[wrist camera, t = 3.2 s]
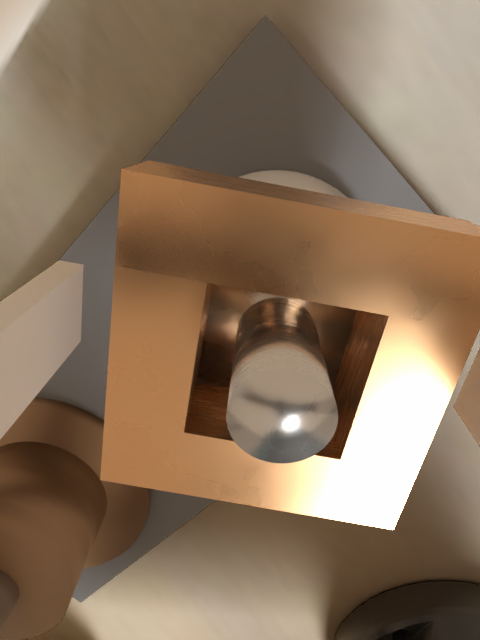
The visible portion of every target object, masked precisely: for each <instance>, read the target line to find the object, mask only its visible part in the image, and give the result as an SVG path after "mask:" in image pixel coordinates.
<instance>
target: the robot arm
mask: <svg viewBox="0 0 480 640" xmlns="http://www.w3.org/2000/svg"><path fill="white" fill-rule="evenodd" d="M82 294H83V264H78V263H72V262H67V261H61V260H59V261H58V262H56V263H55V264H53V265H52V266H50V267H49V268H48V269H46V270H45V271H43V272H42V273H40V274H39V275H38V276H36V277H35V278H33V279H32V280H30V281H29V282H28V283H26V284H25V285H23V286H22V287H20V288H19V289H18V290H16V291H15V292H13V293H12V294H10V295H9V296H8V297H6V298H5V299H3V300H2V301H0V439H1V438H2V437H3V436H4V435H5V433H6V432H7V431H8V430H9V428H10V427H11V426H12V425H13V424H14V422H15V421H16V420H17V419H18V417H19V416H20V415H21V414H22V413H23V411H24V410H25V409H26V408H27V406H28V405H29V404H30V403H31V401H32V400H33V399H34V398H35V397H36V395H37V394H38V393H39V392H40V390H41V389H42V388H43V387H44V386H45V384H46V383H47V382H48V381H49V379H50V378H51V377H52V376H53V375H54V373H55V372H56V371H57V370H58V368H59V367H60V366H61V365H62V363H63V362H64V361H65V360H66V359H67V357H68V356H69V355H70V354H71V352H72V351H73V350H74V349H75V348H76V346H77V345H78V344H79V343H80V341H81V324H82ZM454 408H455V410H456V411H457V413H458V414H459V416H460V417H461V419H462V420H463V422H464V423H465V425H466V426H467V428H468V429H469V431H470V432H471V434H472V435H473V437H474V439H475V440H476V442H477V443H478V445H479V446H480V349H479V351H478V353H477V356H476V358H475V360H474V362H473V365H472V367H471V369H470V371H469V373H468V376H467V378H466V380H465V382H464V385H463V387H462V389H461V391H460V394H459V396H458V398H457V400H456V402H455V405H454ZM334 640H480V585H477V584H472V583H465V582H455V581H436V582H424V583H418V584H412V585H407V586H403V587H400V588H396V589H393V590H390V591H388V592H385V593H383V594H380V595H378V596H376V597H374V598H372V599H370V600H369V601H367V602H365V603H364V604H362V605H361V606H359V607H358V608H357V609H356V610H354V611H353V612H352V613H351V614H350V615H349V616H348V617H347V618H346V619H345V620H344V622H343V623H342V624H341V626H340V628H339V629H338V631H337V633H336V636H335V639H334Z"/></svg>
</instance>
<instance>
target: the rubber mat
mask: <svg viewBox="0 0 480 640" xmlns="http://www.w3.org/2000/svg"><path fill="white" fill-rule="evenodd" d="M149 160H150V161H155V162H161V163H166V164H171V165H177V166H182V167H187V168H192V169H198V170H203V171H208V172H214V173H219V174H224V175H229V176H235V177H236V176H238V175H242V174H245V173H248V172H252V171H258V170H265V169H285V170H293V171H298V172H302V173H306V174H309V175H312V176H314V177H317V178H319V179H321V180H323V181H325V182H327V183H328V184H330V185H332V186H333V187H335V188H336V189H338V190H339V191H340V192H341V193H343V194H344V195H345V196H346V197H347V198H351V199H356V200H361V201H367V202H372V203H377V204H382V205H388V206H393V207H398V208H404V209H409V210H414V211H419V212H425V213H430V214H434V213H433V212H432V211H431V210H430V208H429V207H428V206H427V205H426V204H425V203H424V201H423V200H422V199H421V198H420V197H419V195H418V194H417V193H416V192H415V191H414V190H413V188H412V187H411V186H410V185H409V184H408V183H407V181H406V180H405V179H404V178H403V177H402V175H401V174H400V173H399V172H398V171H397V170H396V168H395V167H394V166H393V165H392V164H391V162H390V161H389V160H388V159H387V158H386V157H385V155H384V154H383V153H382V152H381V151H380V150H379V148H378V147H377V146H376V145H375V144H374V142H373V141H372V140H371V139H370V138H369V137H368V135H367V134H366V133H365V132H364V131H363V129H362V128H361V127H360V126H359V125H358V124H357V122H356V121H355V120H354V119H353V118H352V116H351V115H350V114H349V113H348V112H347V111H346V109H345V108H344V107H343V106H342V105H341V104H340V102H339V101H338V100H337V99H336V98H335V96H334V95H333V94H332V93H331V92H330V91H329V89H328V88H327V87H326V86H325V85H324V83H323V82H322V81H321V80H320V79H319V78H318V76H317V75H316V74H315V73H314V72H313V71H312V69H311V68H310V67H309V66H308V65H307V63H306V62H305V61H304V60H303V59H302V58H301V56H300V55H299V54H298V53H297V52H296V50H295V49H294V48H293V47H292V46H291V45H290V43H289V42H288V41H287V40H286V39H285V38H284V36H283V35H282V34H281V33H280V32H279V30H278V29H277V28H276V27H275V26H274V25H273V23H272V22H271V21H270V20H269V19H268V17H267V16H266V15H265V16H264V17H263V18H262V20H261V21H260V22H259V23H258V24H257V26H256V27H255V28H254V29H253V30H252V31H251V33H250V34H249V35H248V36H247V37H246V39H245V40H244V41H243V42H242V43H241V45H240V46H239V47H238V48H237V49H236V50H235V52H234V53H233V54H232V55H231V56H230V58H229V59H228V60H227V61H226V62H225V64H224V65H223V66H222V67H221V68H220V69H219V71H218V72H217V73H216V74H215V75H214V77H213V78H212V79H211V80H210V81H209V83H208V84H207V85H206V86H205V87H204V88H203V90H202V91H201V92H200V93H199V94H198V96H197V97H196V98H195V99H194V100H193V102H192V103H191V104H190V105H189V106H188V107H187V109H186V110H185V111H184V112H183V113H182V115H181V116H180V117H179V118H178V119H177V120H176V122H175V123H174V124H173V125H172V126H171V128H170V129H169V130H168V131H167V132H166V134H165V135H164V136H163V137H162V138H161V139H160V141H159V142H158V143H157V144H156V145H155V147H154V148H153V149H152V150H151V151H150V153H149V154H148V155H147V156H146V157H145V158H144V160H143V161H142V162H146V161H149ZM142 162H141V163H142ZM119 195H120V188H119V189H118V191H117V192H116V193H115V194H114V195H113V196H112V198H111V199H110V200H109V201H108V202H107V204H106V205H105V206H104V207H103V208H102V210H101V211H100V212H99V213H98V214H97V215H96V217H95V218H94V219H93V220H92V221H91V223H90V224H89V225H88V226H87V227H86V229H85V230H84V231H83V232H82V233H81V234H80V236H79V237H78V238H77V239H76V240H75V242H74V243H73V244H72V245H71V246H70V247H69V249H68V250H67V251H66V252H65V253H64V255H63V256H62V257H61V258H60V259H59V260H61V261H67V262H72V263H78V264H83V294H82V324H81V341H80V343H79V344H78V345H77V346H76V348H75V349H74V350H73V351H72V352H71V354H70V355H69V356H68V357H67V359H66V360H65V361H64V362H63V363H62V365H61V366H60V367H59V368H58V370H57V371H56V372H55V373H54V375H53V376H52V377H51V378H50V379H49V381H48V382H47V383H46V384H45V386H44V387H43V388H42V389H41V390H40V392H39V393H38V394H37V395H36V397H39V398H48V399H52V400H57V401H61V402H65V403H68V404H70V405H73V406H76V407H79V408H81V409H83V410H85V411H87V412H90V413H92V414H93V415H95V416H97V417H98V418H100V419H102V420H103V421H104V416H105V401H106V387H107V372H108V357H109V342H110V328H111V313H112V298H113V283H114V269H115V254H116V239H117V224H118V210H119ZM214 501H215V500H214V499H208V498H202V497H196V496H191V495H185V494H179V493H173V492H167V491H161V490H155V489H151V503H150V508H149V512H148V516H147V519H146V523H145V525H144V527H143V530H142V532H141V534H140V535H139V537H138V538H137V540H136V541H135V542H134V543H133V544H132V546H131V547H130V548H129V549H127V550H126V551H125V552H124V553H122V554H121V555H119V556H118V557H116V558H114V559H113V560H110V561H108V562H106V563H103V564H101V565H97V566H94V567H90V568H84V569H83V571H82V573H81V576H80V578H79V581H78V583H77V586H76V588H75V591H74V593H73V595H72V597H73V598H75V599H76V600H78V601H79V602H82V601H84V600H85V599H86V598H87V597H89V596H90V595H91V594H93V593H94V592H95V591H97V590H98V589H99V588H101V587H102V586H103V585H105V584H106V583H107V582H109V581H110V580H111V579H113V578H114V577H115V576H116V575H118V574H119V573H120V572H122V571H123V570H124V569H126V568H127V567H128V566H130V565H131V564H132V563H134V562H135V561H136V560H138V559H139V558H140V557H142V556H143V555H144V554H145V553H147V552H148V551H149V550H151V549H152V548H153V547H155V546H156V545H157V544H159V543H160V542H161V541H163V540H164V539H165V538H167V537H168V536H169V535H171V534H172V533H173V532H174V531H176V530H177V529H178V528H180V527H181V526H182V525H184V524H185V523H186V522H188V521H189V520H190V519H192V518H193V517H194V516H196V515H197V514H198V513H200V512H201V511H202V510H203V509H205V508H206V507H207V506H209V505H210V504H211V503H213V502H214Z"/></svg>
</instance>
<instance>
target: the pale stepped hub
mask: <svg viewBox="0 0 480 640" xmlns="http://www.w3.org/2000/svg"><path fill="white" fill-rule="evenodd" d="M236 177H240V178H245V179H250V180H256V181H261V182H266V183H272V184H277V185H282V186H287V187H293V188H298V189H303V190H309V191H314V192H319V193H324V194H330V195H335V196H340V197H345V198H347V197H346V196H345V195H344V194H343V193H341V192H340V191H339V190H338V189H336V188H335V187H333V186H332V185H330V184H328V183H327V182H325V181H323V180H321V179H319V178H317V177H314V176H312V175H309V174H306V173H302V172H298V171H293V170H285V169H265V170H258V171H252V172H248V173H245V174H242V175H238V176H236ZM356 312H357V310H354V309H348V308H343V307H337V306H332V305H326V304H321V303H315V302H310V301H304V300H299V299H293V298H288V297H283V296H277V295H272V294H266V293H261V292H255V291H250V290H244V289H239V288H233V287H228V286H222V285H217V284H212V291H211V297H210V303H209V309H208V316H207V322H206V328H205V334H204V340H203V347H202V353H201V359H200V365H199V372H198V378H197V383H202V384H208V385H214V386H219V387H225V388H230V389H229V397H228V405H227V413H226V422H227V427H228V430H229V433H230V435H231V437H232V439H233V440H234V441H235V443H236V444H237V445H238V446H239V447H240V448H241V449H242V450H243V451H245V452H246V453H247V454H249V455H251V456H253V457H255V458H257V459H259V460H262V461H266V462H270V463H293V462H298V461H302V460H305V459H307V458H309V457H312V456H313V455H315V454H317V453H318V452H320V451H321V450H322V449H323V448H324V447H325V446H326V445H327V444H328V443H329V442H330V440H331V439H332V437H333V435H334V433H335V431H336V428H337V424H338V409H337V405H336V401H335V398H334V394H333V388H334V384H335V381H336V378H337V374H338V371H339V368H340V365H341V361H342V358H343V355H344V351H345V348H346V345H347V341H348V338H349V335H350V332H351V328H352V325H353V322H354V318H355V315H356Z"/></svg>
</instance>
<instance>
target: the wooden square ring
mask: <svg viewBox="0 0 480 640" xmlns="http://www.w3.org/2000/svg"><path fill="white" fill-rule="evenodd" d="M212 284H217V285H222V286H228V287H233V288H239V289H244V290H250V291H255V292H261V293H266V294H272V295H277V296H283V297H288V298H293V299H299V300H304V301H310V302H315V303H321V304H326V305H332V306H337V307H343V308H348V309H354V310H357V312H356V315H355V318H354V322H353V325H352V328H351V332H350V335H349V338H348V341H347V345H346V348H345V351H344V355H343V358H342V361H341V365H340V368H339V371H338V374H337V378H336V381H335V384H334V388H333V394H334V398H335V401H336V405H337V409H338V424H337V428H336V431H335V433H334V435H333V437H332V439H331V440H330V442H329V443H328V444H327V445H326V446H325V447H324V448H323V449H322V450H321V451H320V452H318V453H317V454H315V455H313V456H312V457H309V458H307V459H305V460H302V461H298V462H293V463H270V462H266V461H262V460H259V459H257V458H255V457H253V456H251V455H249V454H247V453H246V452H245V451H243V450H242V449H241V448H240V447H239V446H238V445H237V444H236V443H235V441H234V440H233V439H232V437H231V435H230V433H229V430H228V427H227V422H226V413H227V405H228V397H229V389H230V388H225V387H219V386H214V385H208V384H202V383H197V378H198V372H199V365H200V359H201V353H202V347H203V340H204V334H205V328H206V322H207V316H208V309H209V303H210V297H211V291H212ZM479 330H480V226H478V225H476V224H473V223H471V222H469V221H467V220H462V219H456V218H451V217H446V216H441V215H435V214H430V213H425V212H419V211H414V210H409V209H404V208H398V207H393V206H388V205H382V204H377V203H372V202H367V201H361V200H356V199H351V198H345V197H340V196H335V195H330V194H324V193H319V192H314V191H309V190H303V189H298V188H293V187H287V186H282V185H277V184H272V183H266V182H261V181H256V180H250V179H245V178H240V177H235V176H229V175H224V174H219V173H214V172H208V171H203V170H198V169H192V168H187V167H182V166H177V165H171V164H166V163H161V162H155V161H150V160H149V161H146V162H142V163H139V164H136V165H132V166H129V167H126V168H122V169H121V180H120V195H119V210H118V224H117V239H116V254H115V269H114V283H113V298H112V313H111V328H110V342H109V357H108V372H107V387H106V401H105V416H104V431H103V446H102V460H101V475H100V480H102V481H108V482H114V483H120V484H126V485H132V486H138V487H143V488H149V489H155V490H161V491H167V492H173V493H179V494H185V495H191V496H196V497H202V498H208V499H214V500H220V501H226V502H232V503H238V504H243V505H249V506H255V507H261V508H267V509H273V510H279V511H285V512H290V513H296V514H302V515H308V516H314V517H320V518H326V519H332V520H338V521H343V522H349V523H355V524H361V525H367V526H373V527H379V528H385V529H390V530H394V528H395V526H396V523H397V521H398V519H399V516H400V514H401V512H402V509H403V507H404V505H405V502H406V500H407V498H408V495H409V493H410V491H411V488H412V486H413V484H414V481H415V479H416V477H417V474H418V472H419V470H420V467H421V465H422V463H423V460H424V458H425V456H426V453H427V451H428V449H429V446H430V444H431V442H432V439H433V437H434V435H435V432H436V430H437V428H438V425H439V423H440V421H441V418H442V416H443V414H444V411H445V409H446V407H447V404H448V402H449V400H450V397H451V395H452V393H453V390H454V388H455V386H456V383H457V381H458V379H459V376H460V374H461V372H462V369H463V367H464V365H465V362H466V360H467V358H468V355H469V353H470V351H471V348H472V346H473V344H474V341H475V339H476V337H477V334H478V332H479Z"/></svg>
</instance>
